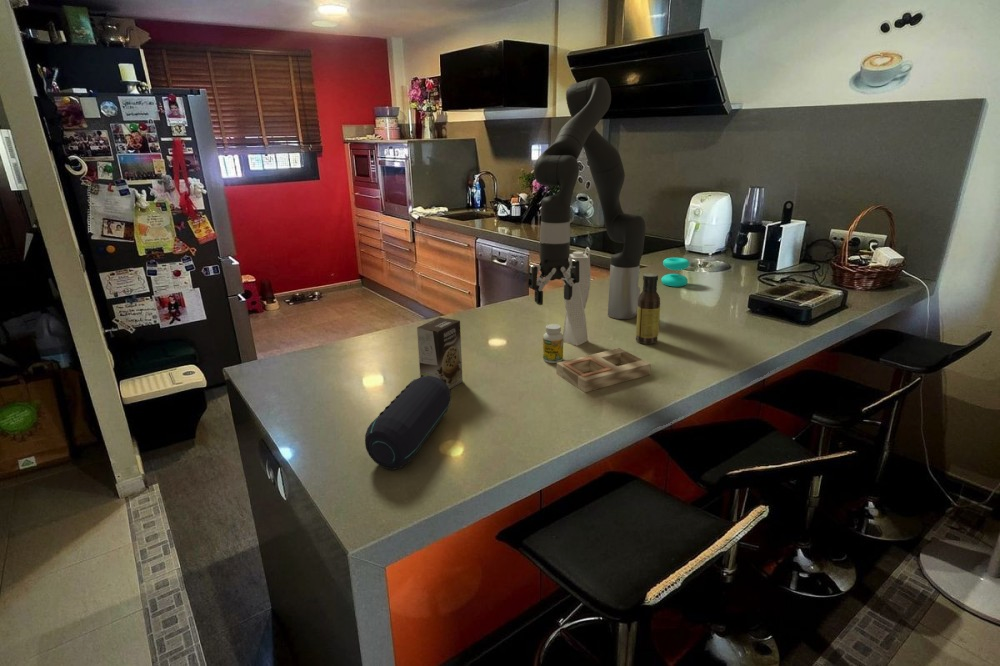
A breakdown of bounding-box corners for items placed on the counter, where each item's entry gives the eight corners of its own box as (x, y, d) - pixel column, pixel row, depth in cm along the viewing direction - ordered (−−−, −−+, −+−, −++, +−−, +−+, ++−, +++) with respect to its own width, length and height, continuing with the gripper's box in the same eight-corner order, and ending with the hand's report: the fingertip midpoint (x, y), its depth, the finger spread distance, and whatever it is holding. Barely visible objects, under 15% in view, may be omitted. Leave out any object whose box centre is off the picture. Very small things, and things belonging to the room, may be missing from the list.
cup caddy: (618, 358, 144) (619, 346, 143) (649, 374, 134) (650, 362, 133) (556, 373, 135) (556, 361, 134) (584, 392, 125) (584, 379, 124)
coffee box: (441, 396, 125) (437, 331, 119) (420, 389, 128) (415, 327, 122) (464, 381, 132) (461, 320, 126) (443, 375, 135) (439, 315, 130)
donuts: (660, 257, 214) (685, 256, 213) (658, 281, 217) (682, 280, 217) (667, 262, 204) (693, 262, 204) (665, 287, 208) (690, 287, 208)
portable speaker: (414, 408, 120) (411, 368, 116) (456, 413, 117) (454, 372, 114) (359, 473, 97) (352, 425, 94) (409, 481, 95) (404, 432, 91)
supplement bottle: (564, 357, 145) (565, 323, 142) (560, 364, 141) (561, 330, 137) (545, 355, 147) (545, 322, 143) (540, 362, 142) (541, 328, 139)
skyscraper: (594, 341, 156) (598, 246, 146) (579, 348, 151) (582, 250, 141) (571, 334, 161) (574, 243, 151) (557, 341, 156) (559, 247, 146)
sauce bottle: (662, 342, 154) (668, 275, 147) (647, 346, 151) (653, 278, 144) (645, 335, 159) (650, 270, 152) (630, 340, 156) (635, 274, 149)
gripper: (570, 234, 139) (568, 294, 144) (522, 240, 132) (522, 302, 138) (587, 239, 132) (584, 301, 138) (538, 244, 126) (537, 309, 132)
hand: (553, 301), depth 138 cm, fingers open, 8 cm apart
